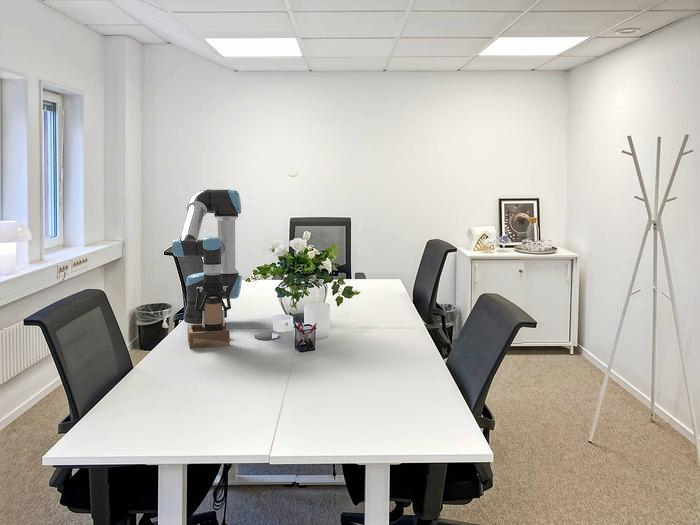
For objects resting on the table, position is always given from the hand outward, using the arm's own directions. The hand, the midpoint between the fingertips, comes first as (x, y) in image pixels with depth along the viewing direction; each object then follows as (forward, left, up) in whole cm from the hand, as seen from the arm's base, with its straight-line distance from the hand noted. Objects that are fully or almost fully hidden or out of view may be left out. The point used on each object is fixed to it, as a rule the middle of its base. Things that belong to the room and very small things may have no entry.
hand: (213, 325), depth 255 cm
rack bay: (0, -2, -7) cm, 7 cm away
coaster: (-2, +24, -7) cm, 25 cm away
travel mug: (0, 0, -7) cm, 7 cm away
